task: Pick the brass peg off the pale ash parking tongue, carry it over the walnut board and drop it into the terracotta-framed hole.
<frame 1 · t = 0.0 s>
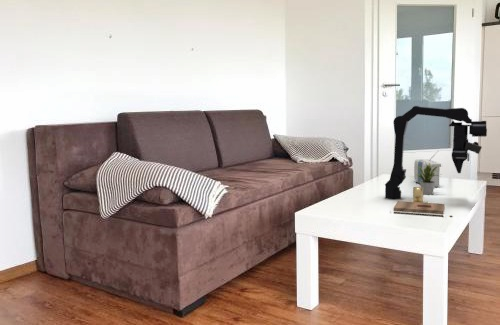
hand: (459, 171, 203), 15 cm above the table, fingers open, 9 cm apart
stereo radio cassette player: (426, 185, 256), on the table
walnut board: (419, 211, 193), on the table
house plant: (429, 194, 228), on the table
brass peg: (417, 203, 204), point 1 cm above the table, touching walnut board
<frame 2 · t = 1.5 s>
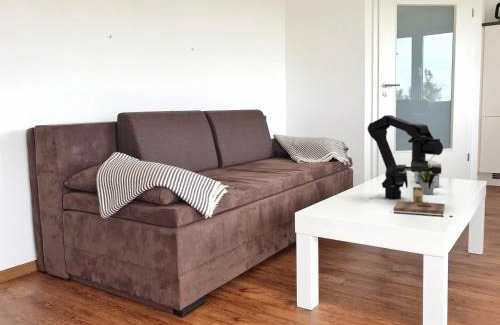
hand: (417, 188, 203), 8 cm above the table, fingers open, 9 cm apart
nothing on the table moved.
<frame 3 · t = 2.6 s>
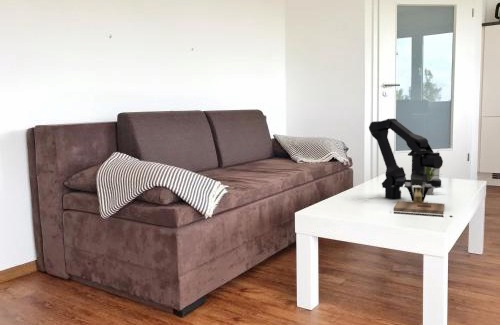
hand: (417, 201, 204), 2 cm above the table, fingers closed on brass peg, 4 cm apart
brass peg: (417, 203, 204), point 1 cm above the table, touching gripper, walnut board
everything else where it was.
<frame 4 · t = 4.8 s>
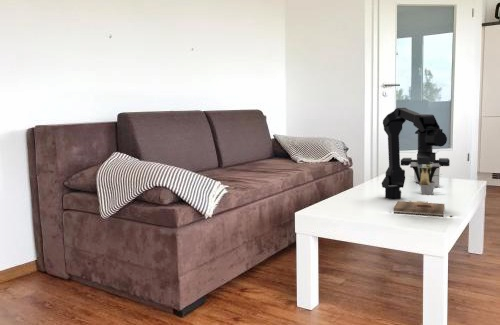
hand: (424, 182, 191), 12 cm above the table, fingers closed on brass peg, 4 cm apart
brass peg: (424, 184, 191), point 12 cm above the table, touching gripper
everything else where it was.
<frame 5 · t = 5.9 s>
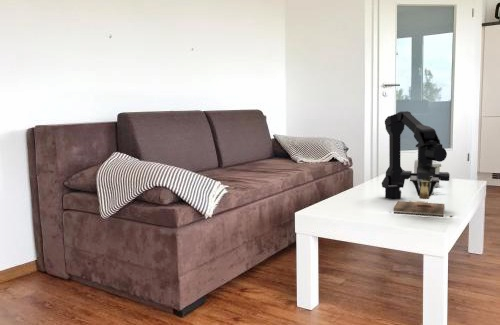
hand: (424, 196, 190), 7 cm above the table, fingers closed on brass peg, 4 cm apart
brass peg: (424, 198, 190), point 6 cm above the table, touching gripper
everything else where it was.
when the fingers open (4 cm above the table, at t = 6.8 s): brass peg drops 3 cm, resting in walnut board.
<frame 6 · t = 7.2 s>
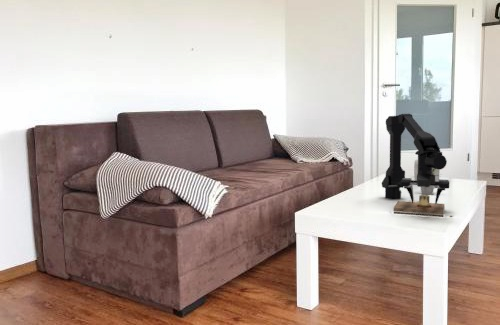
hand: (424, 203, 191), 4 cm above the table, fingers open, 9 cm apart
brass peg: (424, 212, 191), resting in walnut board
everything else where it was.
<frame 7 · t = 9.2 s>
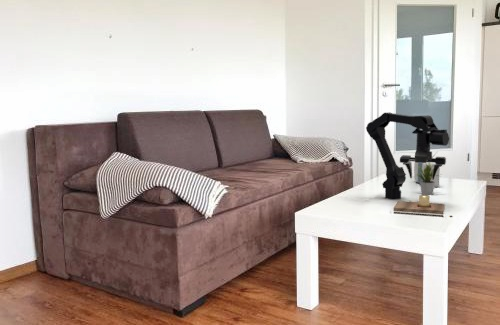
hand: (421, 179, 204), 12 cm above the table, fingers open, 9 cm apart
nothing on the table moved.
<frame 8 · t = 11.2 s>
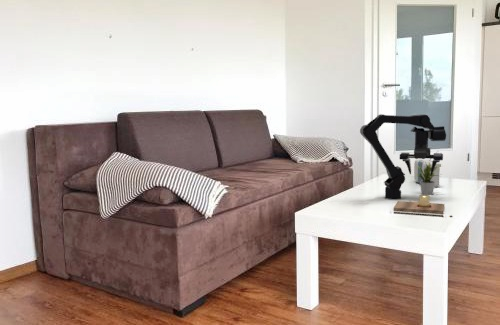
hand: (420, 174, 214), 12 cm above the table, fingers open, 9 cm apart
nothing on the table moved.
at the end: brass peg 0.0 cm from the target spot on the walnut board, point 0.0 cm above the walnut board's base; brass peg tilted 0°; the gripper is holding nothing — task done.
